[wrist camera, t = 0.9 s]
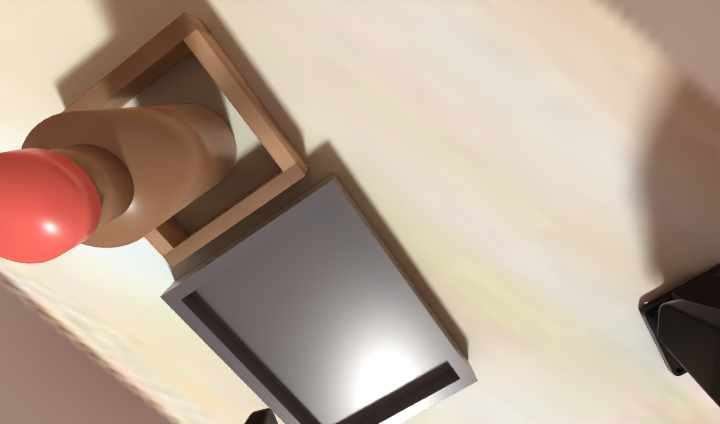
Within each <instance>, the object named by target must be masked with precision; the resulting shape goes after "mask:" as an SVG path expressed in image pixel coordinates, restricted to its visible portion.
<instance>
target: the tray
mask: <svg viewBox="0 0 720 424" xmlns="http://www.w3.org/2000/svg"><path fill="white" fill-rule="evenodd" d="M161 298H162V299H163V300H164V301H165V302H166V303H167V304H168V305H169V306H170V307H171V308H172V309H173V310H174V311H175V312H176V313H177V314H178V315H179V316H180V317H181V318H182V319H183V320H184V322H185V323H186V324H187V325H188V326H189V327H190V328H191V329H192V330H193V331H194V332H195V333H196V334H197V335H198V336H199V337H200V338H201V339H202V340H203V341H204V342H205V343H206V344H207V345H208V346H209V347H210V348H211V349H212V350H213V351H214V352H215V353H216V354H217V355H218V356H219V357H220V358H221V359H222V360H223V361H224V362H225V363H226V364H227V365H228V366H229V367H230V368H231V369H232V370H233V371H234V372H235V373H236V374H237V375H238V376H239V377H240V378H241V379H242V380H243V381H244V382H245V383H246V384H247V385H248V386H249V387H250V388H251V389H252V390H253V391H254V392H255V393H256V395H257V396H258V397H259V398H260V399H261V400H262V401H263V402H264V403H265V404H266V405H267V406H268V407H269V408H270V409H271V410H272V411H273V412H274V413H275V414H276V415H277V416H278V417H279V418H280V419H281V420H282V421H283V422H284V423H285V424H400V423H401V422H403V421H405V420H407V419H409V418H411V417H412V416H414V415H416V414H418V413H420V412H422V411H423V410H425V409H427V408H429V407H431V406H433V405H434V404H436V403H438V402H440V401H442V400H444V399H445V398H447V397H449V396H451V395H453V394H455V393H456V392H458V391H460V390H462V389H464V388H466V387H467V386H469V385H471V384H473V383H475V382H477V379H476V376H475V374H474V372H473V370H472V368H471V365H470V363H469V361H468V360H467V358H466V357H465V356H464V354H463V353H462V351H461V350H460V349H459V347H458V346H457V344H456V343H455V342H454V340H453V339H452V337H451V336H450V335H449V333H448V332H447V330H446V329H445V328H444V326H443V325H442V323H441V322H440V321H439V319H438V318H437V316H436V315H435V314H434V312H433V311H432V309H431V308H430V307H429V305H428V304H427V302H426V301H425V300H424V298H423V297H422V295H421V294H420V293H419V291H418V290H417V288H416V287H415V286H414V284H413V283H412V281H411V280H410V279H409V277H408V276H407V274H406V273H405V272H404V270H403V269H402V267H401V266H400V265H399V263H398V262H397V260H396V259H395V258H394V256H393V255H392V253H391V252H390V251H389V249H388V248H387V246H386V245H385V244H384V242H383V241H382V239H381V238H380V237H379V235H378V234H377V232H376V231H375V230H374V228H373V227H372V225H371V224H370V223H369V221H368V220H367V218H366V217H365V216H364V214H363V213H362V211H361V210H360V209H359V207H358V206H357V204H356V203H355V202H354V200H353V199H352V197H351V196H350V195H349V193H348V192H347V190H346V189H345V188H344V186H343V185H342V183H341V182H340V181H339V179H338V178H337V176H336V175H335V174H334V173H333V174H331V175H330V176H328V177H327V178H325V179H324V180H322V181H321V182H320V183H318V184H317V185H315V186H314V187H312V188H311V189H309V190H308V191H306V192H305V193H303V194H302V195H300V196H299V197H298V198H296V199H295V200H293V201H292V202H290V203H289V204H287V205H286V206H284V207H283V208H281V209H280V210H278V211H277V212H276V213H274V214H273V215H271V216H270V217H268V218H267V219H265V220H264V221H262V222H261V223H259V224H258V225H256V226H255V227H254V228H252V229H251V230H249V231H248V232H246V233H245V234H243V235H242V236H240V237H239V238H237V239H236V240H234V241H233V242H232V243H230V244H229V245H227V246H226V247H224V248H223V249H221V250H220V251H218V252H217V253H215V254H214V255H212V256H211V257H210V258H208V259H207V260H205V261H204V262H202V263H201V264H199V265H198V266H196V267H195V268H193V269H192V270H190V271H189V272H187V273H186V274H185V275H183V276H182V277H180V278H179V279H177V280H176V281H174V282H173V283H172V285H171V286H170V287H169V288H168V289H167V290H166V291H165V292H164V293H163V294H162V296H161Z"/></svg>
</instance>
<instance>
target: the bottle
mask: <svg viewBox="0 0 720 424" xmlns="http://www.w3.org/2000/svg"><path fill="white" fill-rule="evenodd" d="M236 150H237V149H236V142H235V138H234V136H233V133H232V131H231V129H230V127H229V126H228V125H227V123H226V122H225V121H224V120H223V119H222V118H221V117H220V116H219V115H218V114H217V113H215V112H214V111H212V110H210V109H209V108H206V107H204V106H201V105H197V104H173V105H159V106H144V107H130V108H116V109H101V110H87V111H73V112H65V113H60V114H57V115H53V116H51V117H49V118H47V119H45V120H43V121H42V122H41V123H39V124H38V125H37V126H36V127H35V128H33V129H32V130H31V132H30V133H29V134H28V136H27V137H26V139H25V141H24V143H23V145H22V149H20V150H14V151H9V152H3V153H0V257H2V258H5V259H7V260H11V261H14V262H19V263H28V264H30V263H42V262H46V261H50V260H52V259H54V258H56V257H58V256H60V255H62V254H63V253H65V252H67V251H69V250H70V249H72V248H74V247H76V246H77V245H79V244H85V245H89V246H93V247H102V248H113V247H120V246H124V245H128V244H131V243H133V242H135V241H138V240H139V239H141V238H142V237H144V236H145V235H147V234H148V233H150V232H151V231H152V230H154V229H155V228H157V227H158V226H159V225H161V224H162V223H164V222H165V221H166V220H168V219H169V218H171V217H172V216H173V215H175V214H176V213H178V212H179V211H180V210H182V209H183V208H185V207H186V206H187V205H189V204H190V203H192V202H193V201H194V200H196V199H197V198H199V197H200V196H201V195H203V194H204V193H206V192H207V191H208V190H210V189H211V188H213V187H214V186H215V185H217V184H218V183H220V182H221V181H222V180H223V179H225V178H226V177H227V176H228V175H229V173H230V172H231V170H232V168H233V166H234V164H235V160H236Z"/></svg>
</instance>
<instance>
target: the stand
mask: <svg viewBox="0 0 720 424" xmlns="http://www.w3.org/2000/svg"><path fill="white" fill-rule="evenodd" d="M190 52H193V54H194V55H195V56H196V58H197V59H198V60H199V61H200V63H201V64H202V65H203V67H204V68H205V69H206V71H207V72H208V73H209V75H210V76H211V77H212V79H213V80H214V81H215V83H216V84H217V85H218V86H219V88H220V89H221V90H222V92H223V93H224V94H225V96H226V97H227V98H228V100H229V101H230V102H231V104H232V105H233V106H234V108H235V109H236V110H237V111H238V113H239V114H240V115H241V117H242V118H243V119H244V121H245V122H246V123H247V125H248V126H249V127H250V129H251V130H252V131H253V133H254V134H255V135H256V136H257V138H258V139H259V140H260V142H261V143H262V144H263V146H264V147H265V148H266V150H267V151H268V152H269V154H270V155H271V156H272V158H273V159H274V160H275V161H276V163H277V164H278V165H279V167H280V168H281V169H282V170H281V171H279V172H278V173H276V174H275V175H274V176H272V177H271V178H269V179H268V180H266V181H265V182H264V183H262V184H261V185H259V186H258V187H256V188H255V189H254V190H252V191H251V192H249V193H248V194H246V195H245V196H244V197H242V198H241V199H239V200H238V201H236V202H235V203H234V204H232V205H231V206H229V207H228V208H226V209H225V210H224V211H222V212H221V213H219V214H218V215H216V216H215V217H214V218H212V219H211V220H209V221H208V222H206V223H205V224H204V225H202V226H201V227H199V228H198V229H196V230H195V231H194V232H192V233H191V234H188V233H187V232H186V231H185V230H184V229H183V228H182V227H181V226H180V224H179V223H178V222H177V221H176V220H175V219H174V218H173V217H171V218H169V219H168V220H166V221H165V222H164V223H162V224H161V225H159V226H158V227H157V228H155V229H154V230H152V231H151V232H150V233H148V234H147V235H145V236H144V237H145V238H146V239H147V240H148V241H149V242H150V243H151V244H152V245H153V247H154V248H155V249H156V250H157V251H158V252H159V253H160V254H161V255H162V256H163V257H164V258H165V259H166V260H167V261H168V262H169V263H170V265H171V266H172V267H174V266H175V265H177V264H178V263H180V262H181V261H183V260H184V259H186V258H187V257H188V256H190V255H191V254H193V253H194V252H196V251H197V250H199V249H200V248H202V247H203V246H204V245H206V244H207V243H209V242H210V241H212V240H213V239H215V238H216V237H217V236H219V235H220V234H222V233H223V232H225V231H226V230H228V229H229V228H231V227H232V226H233V225H235V224H236V223H238V222H239V221H241V220H242V219H244V218H245V217H246V216H248V215H249V214H251V213H252V212H254V211H255V210H257V209H258V208H260V207H261V206H262V205H264V204H265V203H267V202H268V201H270V200H271V199H273V198H274V197H275V196H277V195H278V194H280V193H281V192H283V191H284V190H286V189H287V188H289V187H290V186H291V185H293V184H294V183H296V182H297V181H299V180H300V179H302V178H303V177H304V176H306V174H307V172H308V170H309V167H308V166H307V165H306V163H305V162H304V161H303V159H302V158H301V156H300V155H299V154H298V152H297V151H296V150H295V148H294V147H293V146H292V144H291V143H290V141H289V140H288V139H287V137H286V136H285V135H284V133H283V132H282V131H281V129H280V128H279V126H278V125H277V124H276V122H275V121H274V120H273V118H272V117H271V116H270V114H269V113H268V111H267V110H266V109H265V107H264V106H263V105H262V103H261V102H260V101H259V99H258V98H257V96H256V95H255V94H254V92H253V91H252V90H251V88H250V87H249V86H248V84H247V83H246V81H245V80H244V79H243V77H242V76H241V75H240V73H239V72H238V71H237V69H236V68H235V67H234V65H233V64H232V62H231V61H230V60H229V58H228V57H227V56H226V54H225V53H224V52H223V50H222V49H221V47H220V46H219V45H218V43H217V42H216V41H215V39H214V38H213V37H212V35H211V34H210V32H209V31H208V30H207V28H206V27H205V26H204V24H203V23H202V22H201V21H200V20H198V19H196V18H194V17H192V16H190V15H188V14H186V13H183V14H182V15H181V16H179V17H178V18H177V19H176V20H175V21H173V22H172V23H171V24H170V25H168V26H167V27H166V28H165V29H163V30H162V31H161V32H160V33H159V34H157V35H156V36H155V37H154V38H152V39H151V40H150V41H149V42H148V43H146V44H145V45H144V46H143V47H141V48H140V49H139V50H138V51H137V52H135V53H134V54H133V55H132V56H130V57H129V58H128V59H127V60H126V61H124V62H123V63H122V64H121V65H119V66H118V67H117V68H116V69H114V70H113V71H112V72H111V73H110V74H108V75H107V76H106V77H105V78H103V79H102V80H101V81H100V82H99V83H97V84H96V85H95V86H94V87H92V88H91V89H90V90H89V91H88V92H86V93H85V94H84V95H83V96H81V97H80V98H79V99H78V100H77V101H75V102H74V103H73V104H72V105H70V106H69V107H68V108H67V109H65V110H64V111H63V112H62V113H65V112H73V111H87V110H101V109H116V108H121V107H122V106H124V105H125V104H126V103H127V102H129V101H130V100H131V99H132V98H134V97H135V96H136V95H137V94H139V93H140V92H141V91H142V90H144V89H145V88H146V87H148V86H149V85H150V84H151V83H153V82H154V81H155V80H156V79H158V78H159V77H160V76H161V75H163V74H164V73H165V72H166V71H168V70H169V69H170V68H171V67H173V66H174V65H175V64H177V63H178V62H179V61H180V60H182V59H183V58H184V57H185V56H187V55H188V54H189V53H190Z"/></svg>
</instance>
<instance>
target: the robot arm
mask: <svg viewBox="0 0 720 424" xmlns="http://www.w3.org/2000/svg"><path fill="white" fill-rule="evenodd" d="M640 313H641V316H642V318H643V320H644V322H645V324H646V326H647V328H648V330H649V332H650V334H651V336H652V338H653V340H654V342H655V344H656V346H657V348H658V350H659V352H660V354H661V356H662V358H663V360H664V362H665V364H666V366H667V368H668V370H669V371H670V372H671V373H673V374H674V375H675V376H680V375H683V374H685V373H687V372H688V373H689V374H690V375H691V376H692V377H693V378H694V380H695V381H696V382H697V383H698V384H699V385H700V386H701V387H702V388H703V390H704V391H705V392H706V393H707V394H708V395H709V396H710V397H711V398H712V399H713V401H714V402H715V403H716V404H717V405H718V406H719V407H720V265H719V266H717V267H715V268H713V269H711V270H710V271H708V272H706V273H704V274H702V275H700V276H698V277H697V278H695V279H693V280H691V281H689V282H687V283H685V284H684V285H682V286H680V287H678V288H676V289H674V290H672V291H671V292H669V293H667V294H665V295H663V296H661V297H659V298H658V299H656V300H654V301H652V302H650V303H648V304H646V305H645V306H643V307H642V309H641V312H640ZM244 424H278V422H277V420H276V418H275V415H274V413H273V411H272V410H271V409H270V408H266V409H263V410H259V411H255V412H253V413H252V414H251V415H250V416H249V417H248V419H247V420H246V422H245V423H244Z"/></svg>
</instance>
